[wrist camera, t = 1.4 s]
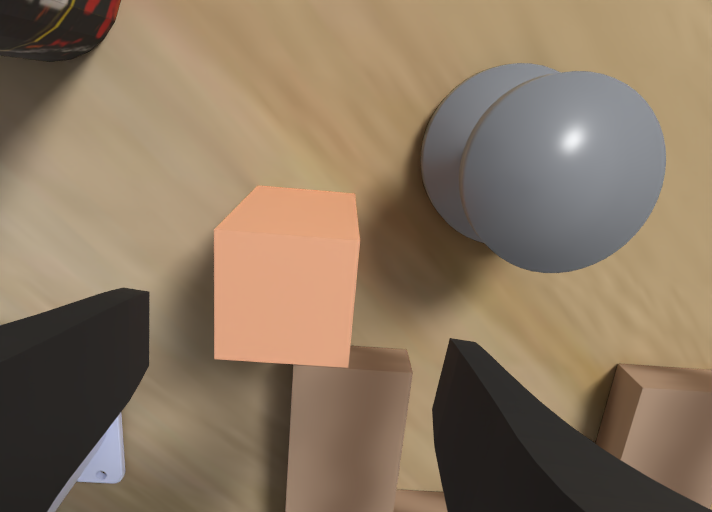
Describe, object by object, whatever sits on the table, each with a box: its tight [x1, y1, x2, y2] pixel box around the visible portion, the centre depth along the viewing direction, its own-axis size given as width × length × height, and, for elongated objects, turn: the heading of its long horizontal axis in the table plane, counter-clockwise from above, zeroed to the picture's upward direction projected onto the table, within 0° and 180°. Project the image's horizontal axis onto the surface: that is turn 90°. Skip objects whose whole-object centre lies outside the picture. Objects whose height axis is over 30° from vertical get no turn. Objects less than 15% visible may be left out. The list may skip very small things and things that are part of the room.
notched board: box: [285, 346, 712, 512], centre depth 24 cm, size 20×12×2 cm, turn 85°
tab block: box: [214, 186, 360, 368], centre depth 17 cm, size 4×4×7 cm
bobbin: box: [420, 63, 666, 273], centre depth 17 cm, size 7×7×6 cm
